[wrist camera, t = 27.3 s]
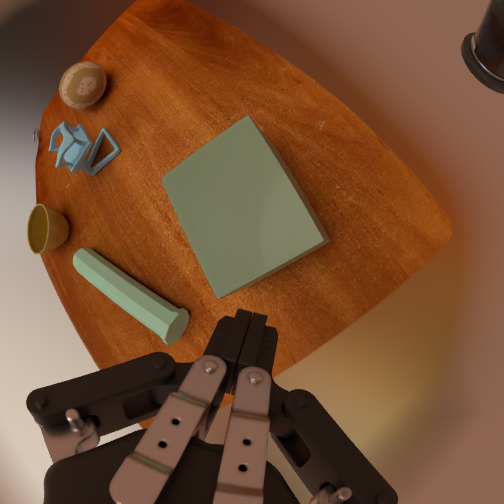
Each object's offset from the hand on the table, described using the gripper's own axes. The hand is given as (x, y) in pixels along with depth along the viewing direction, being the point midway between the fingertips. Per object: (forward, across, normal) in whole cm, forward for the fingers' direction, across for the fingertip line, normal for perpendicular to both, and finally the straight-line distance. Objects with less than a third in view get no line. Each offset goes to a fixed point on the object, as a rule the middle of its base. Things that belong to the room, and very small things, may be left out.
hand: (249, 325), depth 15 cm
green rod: (+25, +22, +19) cm, 38 cm away
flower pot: (+31, +44, +16) cm, 57 cm away
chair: (+35, +36, 0) cm, 50 cm away
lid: (+18, +5, 0) cm, 18 cm away
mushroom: (+42, +45, -14) cm, 63 cm away
